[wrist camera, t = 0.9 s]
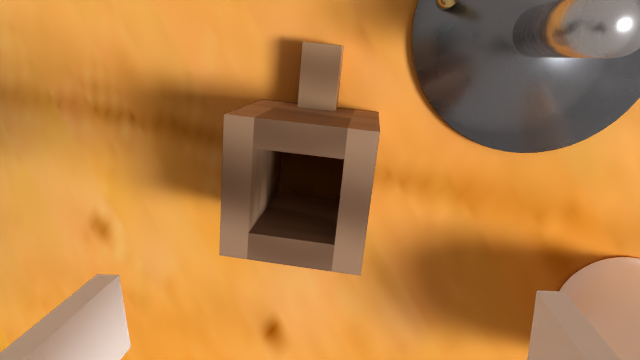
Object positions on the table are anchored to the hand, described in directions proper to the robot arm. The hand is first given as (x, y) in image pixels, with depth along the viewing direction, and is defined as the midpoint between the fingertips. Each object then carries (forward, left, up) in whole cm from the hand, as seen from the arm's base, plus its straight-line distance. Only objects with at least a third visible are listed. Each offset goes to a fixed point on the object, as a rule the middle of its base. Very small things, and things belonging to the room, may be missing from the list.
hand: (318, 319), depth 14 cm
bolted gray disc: (+8, +12, -18) cm, 23 cm away
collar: (-3, +2, -18) cm, 18 cm away
